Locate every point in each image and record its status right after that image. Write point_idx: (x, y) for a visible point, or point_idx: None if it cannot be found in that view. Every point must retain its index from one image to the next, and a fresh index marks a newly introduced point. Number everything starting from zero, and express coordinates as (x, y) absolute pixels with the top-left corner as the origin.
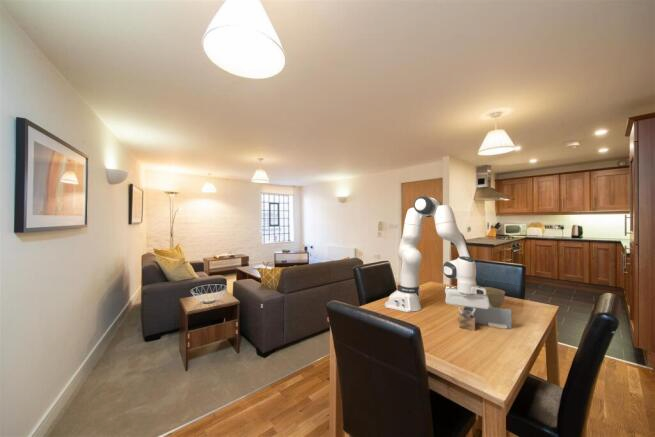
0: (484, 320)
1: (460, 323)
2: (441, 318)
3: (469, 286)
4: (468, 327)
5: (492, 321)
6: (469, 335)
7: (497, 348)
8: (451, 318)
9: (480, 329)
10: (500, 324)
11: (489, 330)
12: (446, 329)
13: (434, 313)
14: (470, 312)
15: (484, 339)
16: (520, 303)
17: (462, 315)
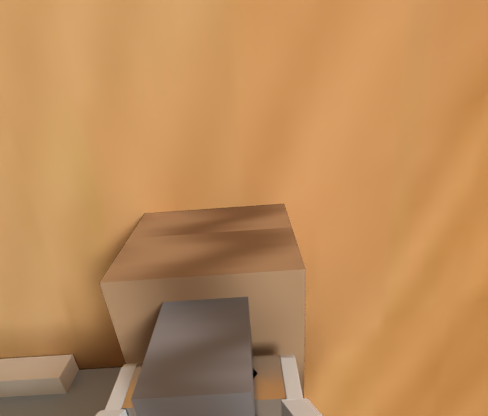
0: (91, 399)
1: (279, 227)
2: (433, 332)
3: None
4: (198, 218)
5: (29, 404)
6: (172, 53)
7: None
8: (349, 364)
9: (109, 263)
10: None
11: (41, 278)
12: (416, 95)
13: (478, 394)
14: None
15: (10, 23)
16: None
17: (266, 348)
